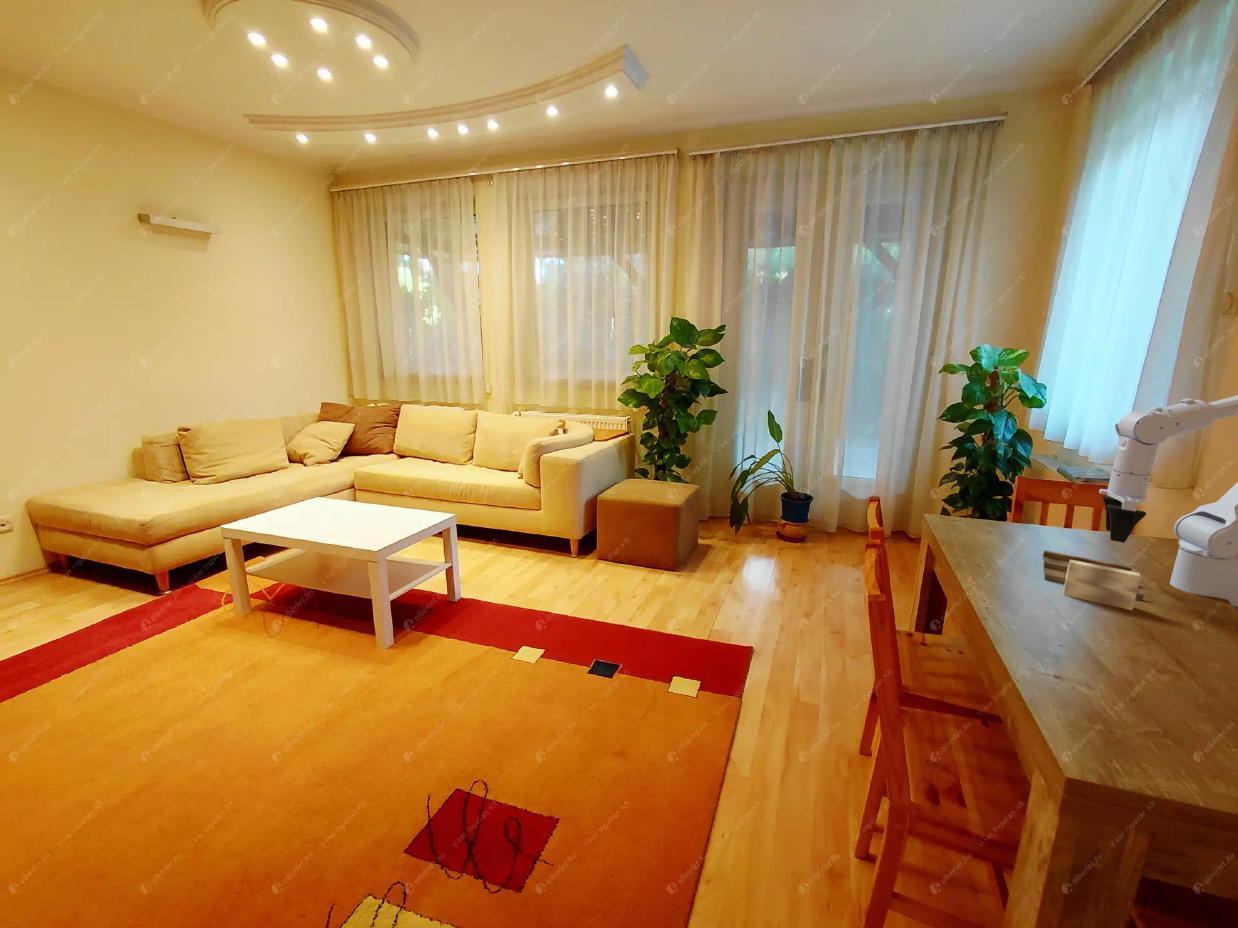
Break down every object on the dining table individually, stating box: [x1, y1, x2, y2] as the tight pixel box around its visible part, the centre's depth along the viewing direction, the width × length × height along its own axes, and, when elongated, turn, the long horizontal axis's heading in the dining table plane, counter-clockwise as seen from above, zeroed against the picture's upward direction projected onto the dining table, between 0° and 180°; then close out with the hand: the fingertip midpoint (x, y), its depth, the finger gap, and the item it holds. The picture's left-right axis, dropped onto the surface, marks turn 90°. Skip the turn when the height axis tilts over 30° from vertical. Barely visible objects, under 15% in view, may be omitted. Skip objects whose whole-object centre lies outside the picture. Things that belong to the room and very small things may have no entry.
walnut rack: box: [1042, 550, 1145, 602], centre depth 115 cm, size 15×17×2 cm
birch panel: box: [1062, 560, 1142, 611], centre depth 103 cm, size 10×2×7 cm, turn 53°
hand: (1115, 536), depth 111 cm, fingers open, 7 cm apart
